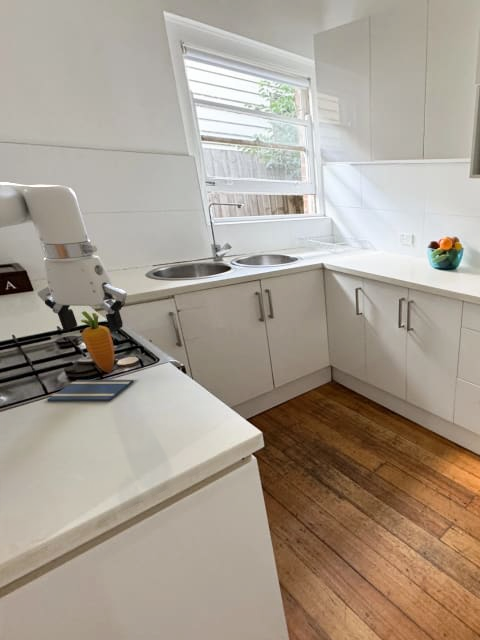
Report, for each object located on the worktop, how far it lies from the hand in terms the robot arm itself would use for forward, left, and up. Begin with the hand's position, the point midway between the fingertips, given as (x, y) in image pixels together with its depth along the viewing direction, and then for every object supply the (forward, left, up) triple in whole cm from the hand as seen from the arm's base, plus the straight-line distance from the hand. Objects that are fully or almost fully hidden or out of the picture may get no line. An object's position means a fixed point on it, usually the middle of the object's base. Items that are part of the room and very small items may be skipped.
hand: (94, 328), depth 84 cm
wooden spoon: (-3, +5, -11) cm, 12 cm away
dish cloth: (+2, -8, -11) cm, 14 cm away
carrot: (0, 0, -11) cm, 11 cm away
